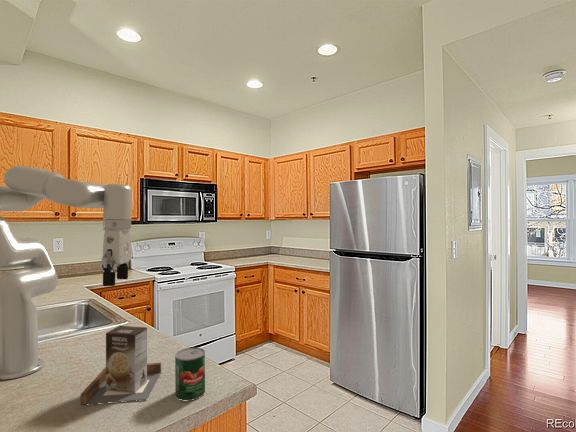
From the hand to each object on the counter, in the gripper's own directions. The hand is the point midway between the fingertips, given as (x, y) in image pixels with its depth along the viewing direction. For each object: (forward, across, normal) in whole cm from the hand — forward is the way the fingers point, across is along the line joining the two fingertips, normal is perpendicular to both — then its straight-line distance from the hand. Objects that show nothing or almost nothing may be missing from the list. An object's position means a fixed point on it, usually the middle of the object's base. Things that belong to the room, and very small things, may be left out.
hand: (116, 282), depth 100 cm
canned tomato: (+28, -12, -25) cm, 39 cm away
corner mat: (+28, -7, -6) cm, 30 cm away
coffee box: (+28, -7, -6) cm, 30 cm away
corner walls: (+28, -7, -6) cm, 30 cm away
